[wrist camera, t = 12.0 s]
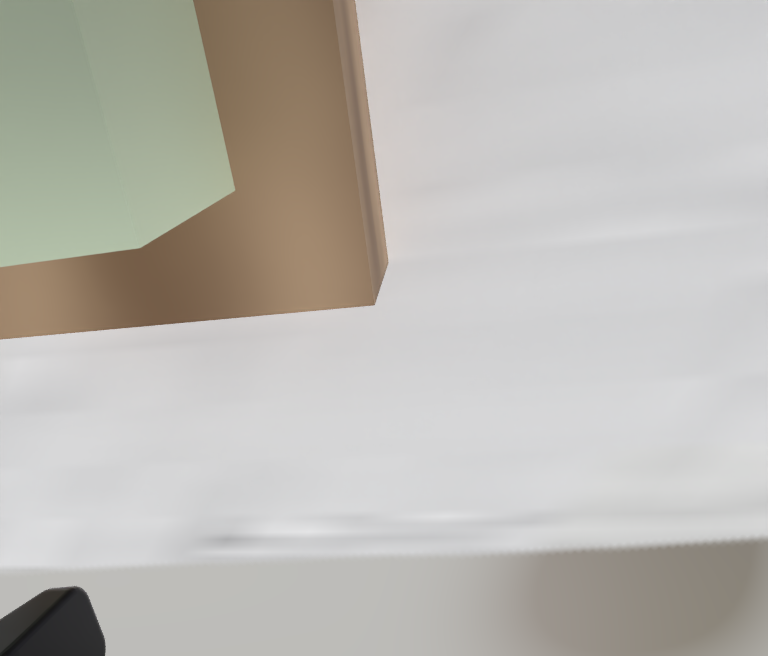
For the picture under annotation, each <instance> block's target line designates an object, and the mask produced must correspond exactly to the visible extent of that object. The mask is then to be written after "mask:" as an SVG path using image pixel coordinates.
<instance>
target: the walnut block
mask: <svg viewBox="0 0 768 656" xmlns="http://www.w3.org/2000/svg"><path fill="white" fill-rule="evenodd" d="M193 2H194V7H195V11H196V16H197V20H198V25H199V29H200V34H201V38H202V43H203V47H204V52H205V56H206V61H207V65H208V70H209V74H210V78H211V83H212V87H213V92H214V96H215V101H216V105H217V110H218V114H219V119H220V123H221V128H222V132H223V137H224V141H225V146H226V150H227V155H228V159H229V164H230V168H231V173H232V177H233V182H234V186H235V191H234V192H232V193H230V194H229V195H227V196H225V197H224V198H222V199H220V200H219V201H217V202H215V203H214V204H212V205H211V206H209V207H207V208H206V209H204V210H202V211H201V212H199V213H197V214H196V215H194V216H192V217H191V218H189V219H187V220H186V221H184V222H182V223H181V224H179V225H178V226H176V227H174V228H173V229H171V230H169V231H168V232H166V233H164V234H163V235H161V236H159V237H158V238H156V239H154V240H153V241H151V242H149V243H148V244H146V245H144V246H143V247H141V248H137V249H130V250H123V251H115V252H108V253H101V254H93V255H86V256H79V257H71V258H64V259H57V260H49V261H42V262H35V263H27V264H20V265H13V266H5V267H0V339H10V338H21V337H32V336H42V335H53V334H64V333H75V332H86V331H97V330H108V329H119V328H130V327H141V326H152V325H163V324H174V323H185V322H196V321H207V320H218V319H229V318H240V317H251V316H262V315H273V314H284V313H295V312H306V311H316V310H327V309H338V308H349V307H360V306H371V305H375V302H376V299H377V296H378V293H379V290H380V287H381V284H382V281H383V278H384V275H385V271H386V268H387V265H388V256H387V248H386V240H385V232H384V224H383V217H382V209H381V201H380V193H379V185H378V177H377V170H376V162H375V154H374V146H373V138H372V130H371V123H370V115H369V107H368V99H367V91H366V83H365V75H364V68H363V60H362V52H361V44H360V36H359V28H358V21H357V13H356V5H355V0H193Z"/></svg>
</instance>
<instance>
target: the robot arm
mask: <svg viewBox="0 0 768 656" xmlns="http://www.w3.org/2000/svg"><path fill="white" fill-rule="evenodd" d="M105 647H106V646H105V639H104V635H103V633H102V630H101V628H100V625H99V623H98V620H97V617H96V615H95V613H94V610H93V607H92V605H91V602H90V599H89V597H88V595H87V593H86V592H85V591H84V590H83V589H82V588H80V587H76V586H73V587H61V588H52V589H48V590H45V591H43V592H42V593H40V594H39V595H37V596H35V597H34V598H32V599H31V600H29V601H28V602H26V603H25V604H23V605H22V606H20V607H19V608H17V609H15V610H14V611H12V612H11V613H9V614H8V615H6V616H5V617H3V618H2V619H0V656H105Z"/></svg>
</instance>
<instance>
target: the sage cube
mask: <svg viewBox="0 0 768 656" xmlns="http://www.w3.org/2000/svg"><path fill="white" fill-rule="evenodd" d="M234 191H235V186H234V182H233V177H232V173H231V168H230V164H229V159H228V155H227V150H226V146H225V141H224V137H223V132H222V128H221V123H220V119H219V114H218V110H217V105H216V101H215V96H214V92H213V87H212V83H211V78H210V74H209V70H208V65H207V61H206V56H205V52H204V47H203V43H202V38H201V34H200V29H199V25H198V20H197V16H196V11H195V7H194V2H193V0H0V267H5V266H13V265H20V264H27V263H35V262H42V261H49V260H57V259H64V258H71V257H79V256H86V255H93V254H101V253H108V252H115V251H123V250H130V249H137V248H141V247H143V246H144V245H146V244H148V243H149V242H151V241H153V240H154V239H156V238H158V237H159V236H161V235H163V234H164V233H166V232H168V231H169V230H171V229H173V228H174V227H176V226H178V225H179V224H181V223H182V222H184V221H186V220H187V219H189V218H191V217H192V216H194V215H196V214H197V213H199V212H201V211H202V210H204V209H206V208H207V207H209V206H211V205H212V204H214V203H215V202H217V201H219V200H220V199H222V198H224V197H225V196H227V195H229V194H230V193H232V192H234Z"/></svg>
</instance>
